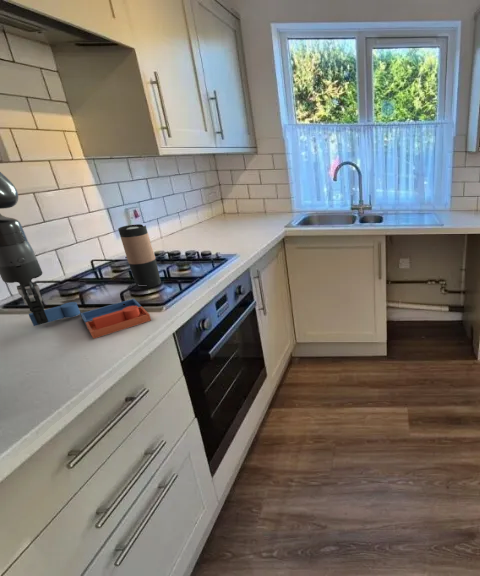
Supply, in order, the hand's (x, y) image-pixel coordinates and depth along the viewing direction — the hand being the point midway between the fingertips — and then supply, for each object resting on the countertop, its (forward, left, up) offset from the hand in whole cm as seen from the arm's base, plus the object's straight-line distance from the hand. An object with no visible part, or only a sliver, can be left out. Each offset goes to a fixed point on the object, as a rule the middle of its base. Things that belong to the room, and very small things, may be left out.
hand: (42, 321), depth 97 cm
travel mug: (+28, +11, -1) cm, 30 cm away
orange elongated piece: (+14, -15, -1) cm, 21 cm away
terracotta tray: (+14, -15, -1) cm, 21 cm away
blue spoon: (+3, 0, 0) cm, 3 cm away
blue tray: (+14, -7, -1) cm, 16 cm away
